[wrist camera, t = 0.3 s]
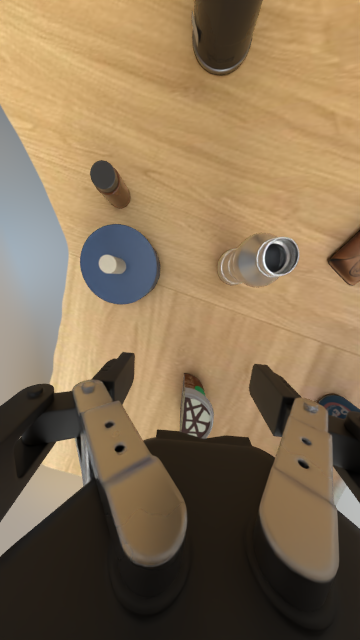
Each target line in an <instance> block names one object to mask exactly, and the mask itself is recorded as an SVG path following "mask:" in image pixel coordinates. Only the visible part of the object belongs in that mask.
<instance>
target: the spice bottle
mask: <svg viewBox="0 0 360 640" xmlns="http://www.w3.org/2000/svg"><path fill="white" fill-rule="evenodd" d="M90 176H91V180H92V182H93V184H94V185H95V186H96V188H97V190H98V191H99V192H100V193H101V194H102V195H103V196H104V197H105V198H106V199H107V200H108V201H109V202H110V203H111V204H112V205H113V206H114V207H116V208H124V207H125V206H127V205H128V203H129V201H130V192H129V190H128V188H127V186H126V185H125V183H124V182H123V180H122V178H121V177H120V175H119V174H118V172H117V171H116V169H115V168H113V167H112V165H111V164H110V163H108V162H107V161H103V160H101V161H97V162H96V163H94V164H93V166H92V168H91V171H90Z"/></svg>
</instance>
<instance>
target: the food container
mask: <svg viewBox="0 0 360 640" xmlns="http://www.w3.org/2000/svg"><path fill="white" fill-rule="evenodd" d="M213 418H214V412H213V408H212V405H211V403H210V401H209V400H208V399H207V397H206V396H205V393H204V389H203V386H202V384H201V382H200V381H199V380H198V379H197V378H196V377H194V376H192V375H190V374H185V373H184V381H183V390H182V400H181V412H180V432H183V433H186V434H190V435H193V436H196V437H199V438H204V439H205V438H207V436H208V435H209V433H210V431H211V429H212V426H213Z"/></svg>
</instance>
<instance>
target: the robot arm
mask: <svg viewBox="0 0 360 640" xmlns="http://www.w3.org/2000/svg"><path fill="white" fill-rule="evenodd" d="M262 1H263V0H195V5H194V16H193V11H192V26H193V48H194V52H195V55H196V58H197V60H198V62H199V63H200V64H201V66H202V67H203V68H204V69H205V70H207V71H208V72H210V73H212V74H216V75H224V74H228V73H230V72H232V71H234V70H235V69H237V68H238V67H239V66H240V65H241V64H242V62H243V61H244V59H245V58H246V56H247V54H248V51H249V48H250V45H251V41H252V36H253V32H254V28H255V25H256V21H257V18H258V15H259V11H260V8H261V4H262ZM134 360H135V355H134V353H126V352H122V354H121V355H120V356H119V357H118V358H117V359H112V360H110V361H108V362H107V363H106V364H105V365H104V366H103V367H102V368H101V369H100V371H99V372H98V373H97V374H96V375H95V376H94V377H93V378H92V379H91V380H86V381H82V382H80V383H78V384H77V385H75V386H74V387H73V390H72V391H69V392H61V393H54V387H53V386H52V385H50V384H37V385H33V386H30V387H27V388H25V389H23V390H22V391H20V392H18V393H17V394H16V395H15V396H13V397H12V398H11V399H9V400H8V401H7V402H5V403H4V404H3V405H1V406H0V522H1V520H2V519H3V517H4V516H5V515H6V513H7V512H8V510H9V509H10V507H11V506H12V505H13V503H14V502H15V500H16V499H17V497H18V496H19V495H20V493H21V491H22V490H23V489H24V487H25V486H26V484H27V483H28V482H29V480H30V478H31V477H32V476H33V474H34V473H35V472H36V470H37V469H38V467H39V466H40V464H41V463H42V462H43V460H44V459H45V457H46V456H47V454H48V453H49V452H50V450H51V449H52V447H53V446H54V444H55V443H56V441H61V440H66V439H71V438H75V442H76V447H77V452H78V456H79V461H80V466H81V471H82V478H83V487H82V488H81V489H80V490H79V491H78V492H76V493H75V494H74V495H73V496H72V497H70V498H69V499H68V500H67V501H66V502H64V503H63V504H62V505H61V506H60V507H58V508H57V509H56V510H55V511H54V512H52V513H51V514H50V515H49V516H48V517H46V518H45V519H44V520H43V521H42V522H40V523H39V524H38V525H37V526H35V527H34V528H33V529H32V530H31V531H30V532H28V533H27V534H26V535H25V536H23V537H22V538H21V539H20V540H19V541H17V542H16V543H15V544H14V545H13V546H12V547H10V548H9V549H8V550H7V551H6V552H5V553H4V554H2V555H1V557H0V640H360V529H359V528H358V527H357V526H356V525H355V524H354V523H352V522H351V521H350V520H349V519H347V518H346V517H345V516H344V515H343V514H342V513H340V512H339V511H338V510H337V508H336V506H335V505H334V501H333V467H334V468H335V470H336V471H337V472H338V474H339V475H340V476H341V478H342V479H343V481H344V482H345V483H346V485H347V486H348V487H349V489H350V490H351V492H352V493H353V494H354V496H355V497H356V498H357V500H358V501H359V502H360V412H356V411H349V412H348V413H347V415H346V418H345V419H342V418H338V417H335V416H331V415H328V411H327V410H326V409H325V408H324V407H323V406H322V405H320V404H319V403H317V402H315V401H312V400H310V399H306V398H302V397H301V396H300V395H299V394H298V393H297V392H296V391H295V390H294V389H293V388H292V387H291V386H290V385H289V384H288V383H287V382H286V381H285V380H284V379H283V378H282V377H281V376H279V375H277V374H276V373H274V372H273V371H272V370H271V369H270V368H269V367H268V366H267V365H261V364H254V366H253V369H252V374H251V380H250V385H249V391H250V395H251V397H252V398H253V400H254V402H255V404H256V405H257V407H258V409H259V411H260V413H261V414H262V416H263V418H264V420H265V421H266V423H267V425H268V427H269V429H270V430H271V432H272V434H273V436H278V437H282V439H281V442H280V445H279V448H278V451H277V454H276V457H273V456H272V455H270V454H269V453H267V452H265V451H263V450H261V449H259V448H256V447H254V446H252V445H251V442H250V440H249V438H248V437H237V436H220V437H213V438H205V439H204V438H199V437H196V436H193V435H190V434H186V433H183V432H180V431H168V430H157V435H156V437H154V438H150V439H146V440H144V441H143V440H142V438H141V436H140V435H139V433H138V431H137V430H136V428H135V426H134V425H133V423H132V421H131V419H130V418H129V416H128V414H127V413H126V411H125V409H124V408H123V406H122V404H123V402H124V400H125V398H126V396H127V394H128V392H129V390H130V388H131V386H132V383H133V379H134ZM21 436H22V437H21ZM20 437H21V438H20ZM19 438H20V439H19ZM18 439H19V440H18Z"/></svg>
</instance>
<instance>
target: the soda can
mask: <svg viewBox="0 0 360 640" xmlns="http://www.w3.org/2000/svg"><path fill="white" fill-rule="evenodd" d="M318 403H319V404H320V405H322V406H323V407H324V408H325V409H326V410H327V411H328V415H331V416H335V417H338V418H342V419H345V418H346V415H347V413H348V412H349V411H356V412H360V409H358V408H357V407H356V406H354V405H353V404H352V403H350V402H349V401H348V400H346V399H345V398H343V397H341V396H336V395H327V396H325V397H323V398H322V399H321V400H320V401H319V402H318Z"/></svg>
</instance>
